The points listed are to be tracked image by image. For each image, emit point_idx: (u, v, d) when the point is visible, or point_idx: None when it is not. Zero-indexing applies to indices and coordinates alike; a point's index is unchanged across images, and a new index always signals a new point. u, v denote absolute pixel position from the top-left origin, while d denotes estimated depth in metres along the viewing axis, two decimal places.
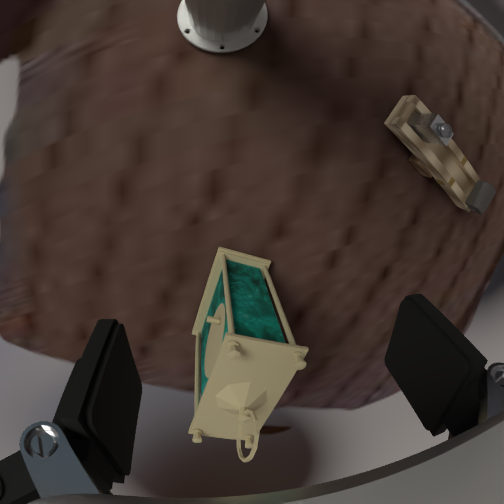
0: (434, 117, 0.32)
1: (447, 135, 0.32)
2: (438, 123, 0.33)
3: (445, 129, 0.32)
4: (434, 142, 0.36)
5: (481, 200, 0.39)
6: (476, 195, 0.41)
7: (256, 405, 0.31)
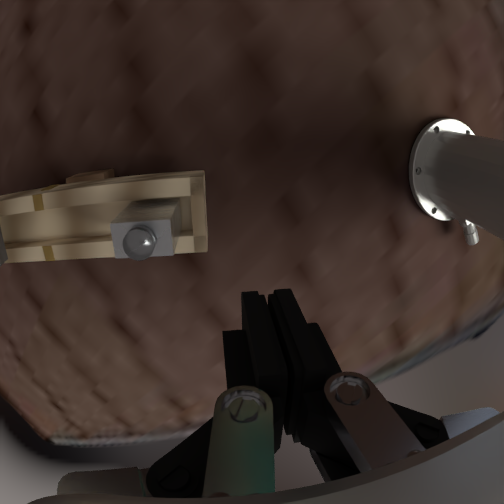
0: (173, 243, 0.19)
1: (130, 239, 0.18)
2: (158, 240, 0.19)
3: (143, 244, 0.18)
4: (124, 213, 0.20)
5: None
6: None
7: None
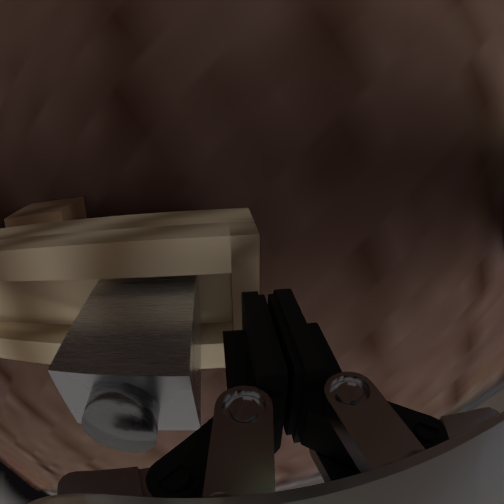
0: (197, 409, 0.08)
1: (98, 423, 0.06)
2: (164, 409, 0.07)
3: (129, 433, 0.06)
4: (84, 321, 0.09)
5: None
6: None
7: None
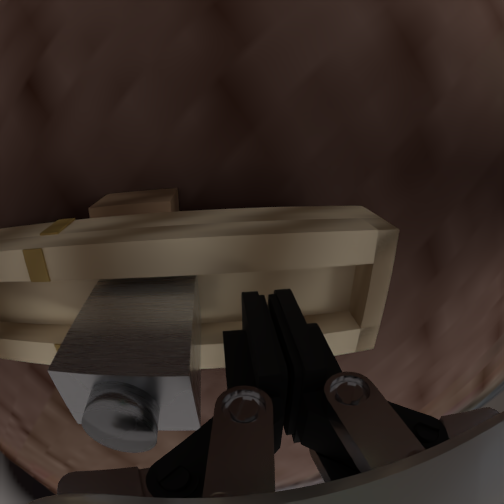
0: (198, 409, 0.08)
1: (99, 423, 0.06)
2: (164, 409, 0.07)
3: (129, 433, 0.06)
4: (83, 321, 0.09)
5: None
6: None
7: None
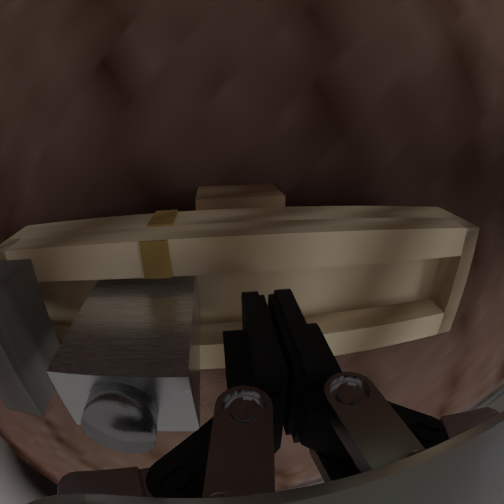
0: (197, 410, 0.08)
1: (98, 424, 0.06)
2: (163, 410, 0.07)
3: (129, 434, 0.06)
4: (82, 322, 0.09)
5: (4, 342, 0.07)
6: (28, 327, 0.09)
7: None
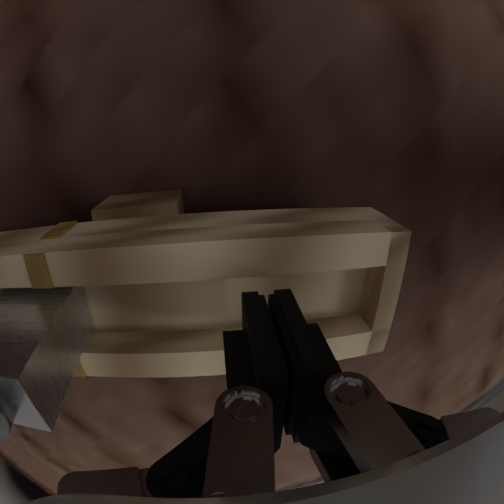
0: (44, 412, 0.07)
1: None
2: (17, 407, 0.06)
3: None
4: None
5: None
6: None
7: None
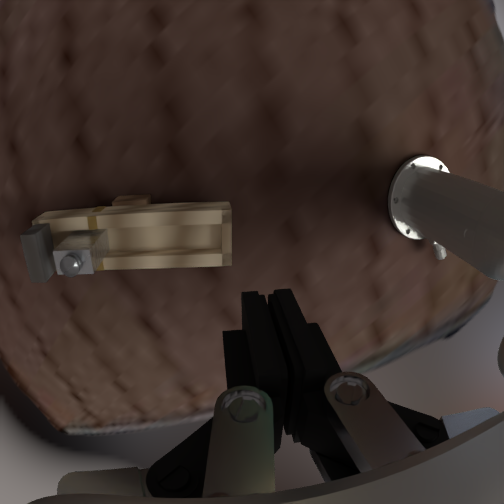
0: (93, 265, 0.26)
1: (64, 263, 0.24)
2: (83, 263, 0.25)
3: (72, 266, 0.24)
4: (65, 241, 0.26)
5: (39, 248, 0.25)
6: (46, 247, 0.27)
7: None
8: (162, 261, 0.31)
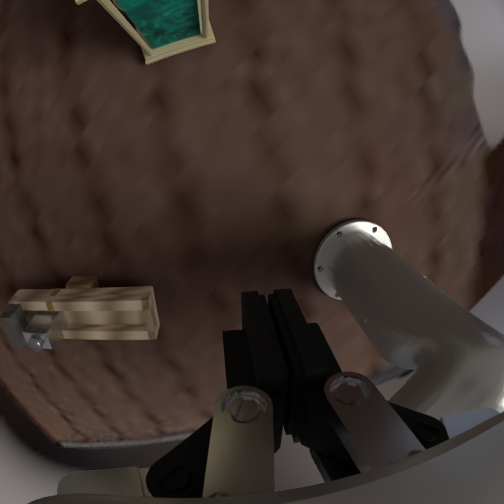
0: (51, 343, 0.31)
1: (30, 342, 0.29)
2: (44, 342, 0.31)
3: (36, 345, 0.29)
4: (31, 322, 0.32)
5: (14, 326, 0.31)
6: (20, 323, 0.32)
7: None
8: (104, 335, 0.36)
